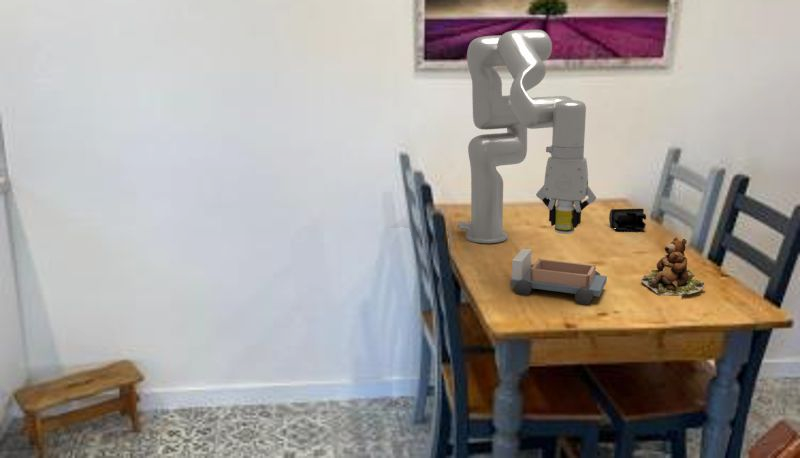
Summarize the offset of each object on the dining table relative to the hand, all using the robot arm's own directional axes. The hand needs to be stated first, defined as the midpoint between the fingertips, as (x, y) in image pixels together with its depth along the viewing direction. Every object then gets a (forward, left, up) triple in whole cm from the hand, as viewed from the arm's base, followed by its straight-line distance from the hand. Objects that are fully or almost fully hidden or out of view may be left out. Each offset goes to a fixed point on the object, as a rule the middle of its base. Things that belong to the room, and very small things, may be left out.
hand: (564, 224), depth 190 cm
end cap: (+8, +61, -18) cm, 64 cm away
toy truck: (-1, 0, -17) cm, 18 cm away
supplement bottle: (0, 0, -2) cm, 2 cm away
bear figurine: (+25, +14, -18) cm, 34 cm away
